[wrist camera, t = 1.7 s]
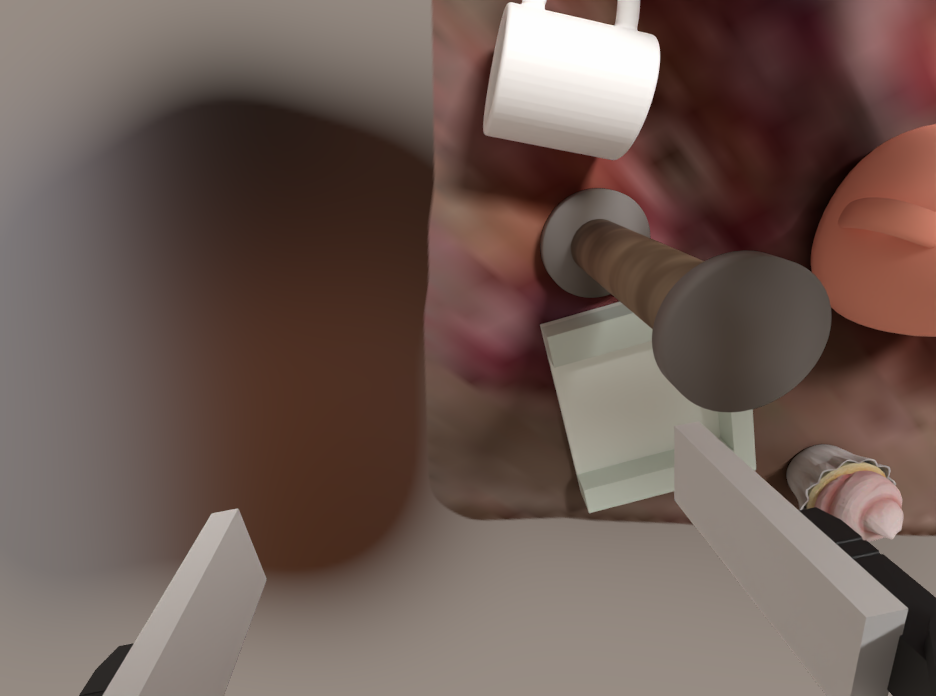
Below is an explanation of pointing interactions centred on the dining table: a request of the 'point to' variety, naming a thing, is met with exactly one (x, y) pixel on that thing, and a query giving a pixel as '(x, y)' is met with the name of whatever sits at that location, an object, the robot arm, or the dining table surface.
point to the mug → (571, 80)
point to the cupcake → (847, 490)
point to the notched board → (625, 407)
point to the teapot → (884, 238)
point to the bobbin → (693, 302)
